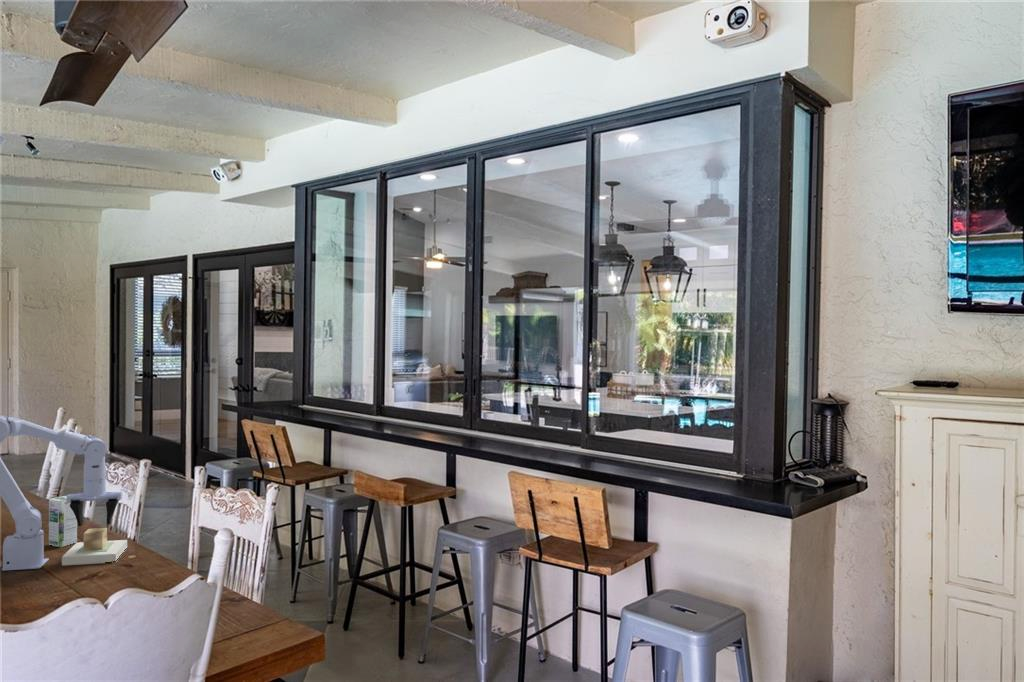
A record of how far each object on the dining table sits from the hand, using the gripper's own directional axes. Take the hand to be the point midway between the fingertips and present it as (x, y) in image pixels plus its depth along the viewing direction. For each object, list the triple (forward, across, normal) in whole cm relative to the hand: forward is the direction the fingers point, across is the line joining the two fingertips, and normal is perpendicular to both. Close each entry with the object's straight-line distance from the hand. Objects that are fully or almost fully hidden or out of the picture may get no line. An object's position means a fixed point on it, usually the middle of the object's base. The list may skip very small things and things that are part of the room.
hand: (94, 524), depth 225 cm
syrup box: (+10, -13, +15) cm, 22 cm away
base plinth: (+9, 0, 0) cm, 9 cm away
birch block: (+7, 0, 0) cm, 7 cm away
